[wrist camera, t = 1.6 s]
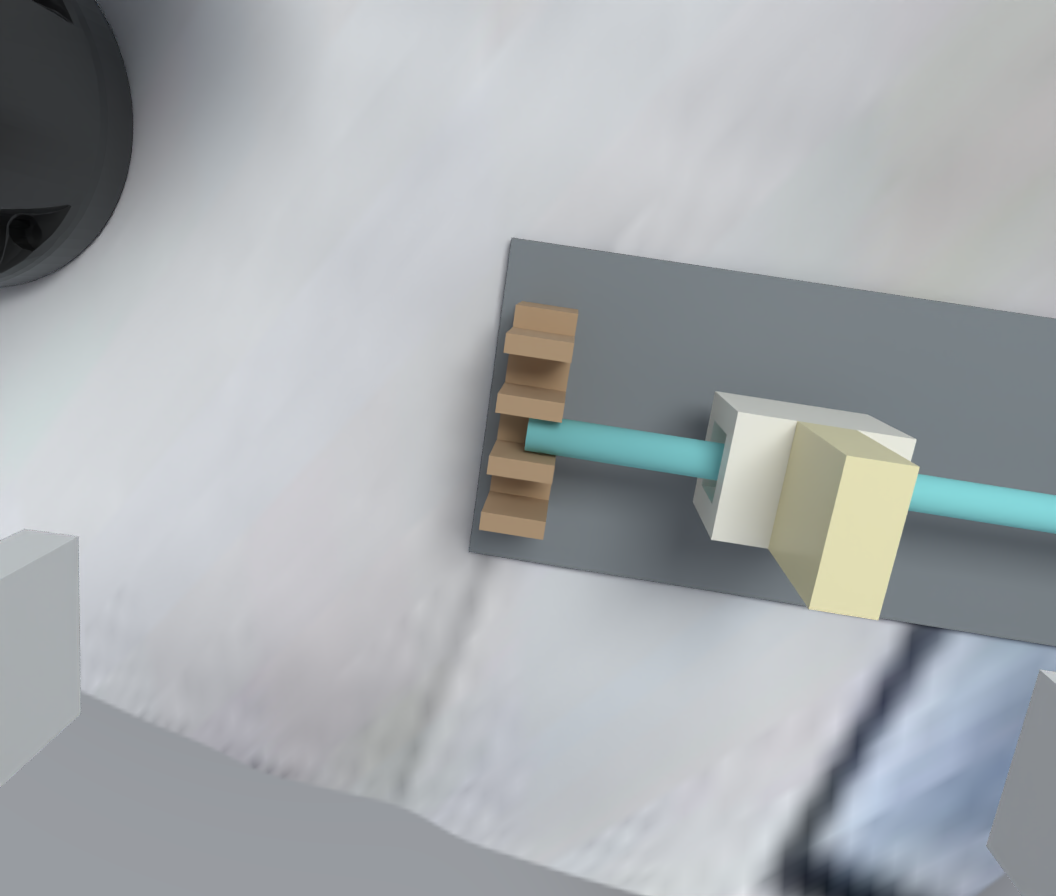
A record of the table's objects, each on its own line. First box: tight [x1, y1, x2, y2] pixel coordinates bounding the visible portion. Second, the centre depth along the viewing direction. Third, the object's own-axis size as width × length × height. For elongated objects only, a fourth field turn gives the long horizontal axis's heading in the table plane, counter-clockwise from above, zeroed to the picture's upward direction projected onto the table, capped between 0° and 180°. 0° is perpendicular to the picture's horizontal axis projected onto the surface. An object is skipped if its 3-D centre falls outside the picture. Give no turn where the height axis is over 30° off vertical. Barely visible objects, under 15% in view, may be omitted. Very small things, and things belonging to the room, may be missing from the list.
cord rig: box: [469, 238, 1056, 646], centre depth 31 cm, size 36×14×7 cm, turn 82°
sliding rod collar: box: [693, 391, 920, 620], centre depth 27 cm, size 6×5×10 cm
